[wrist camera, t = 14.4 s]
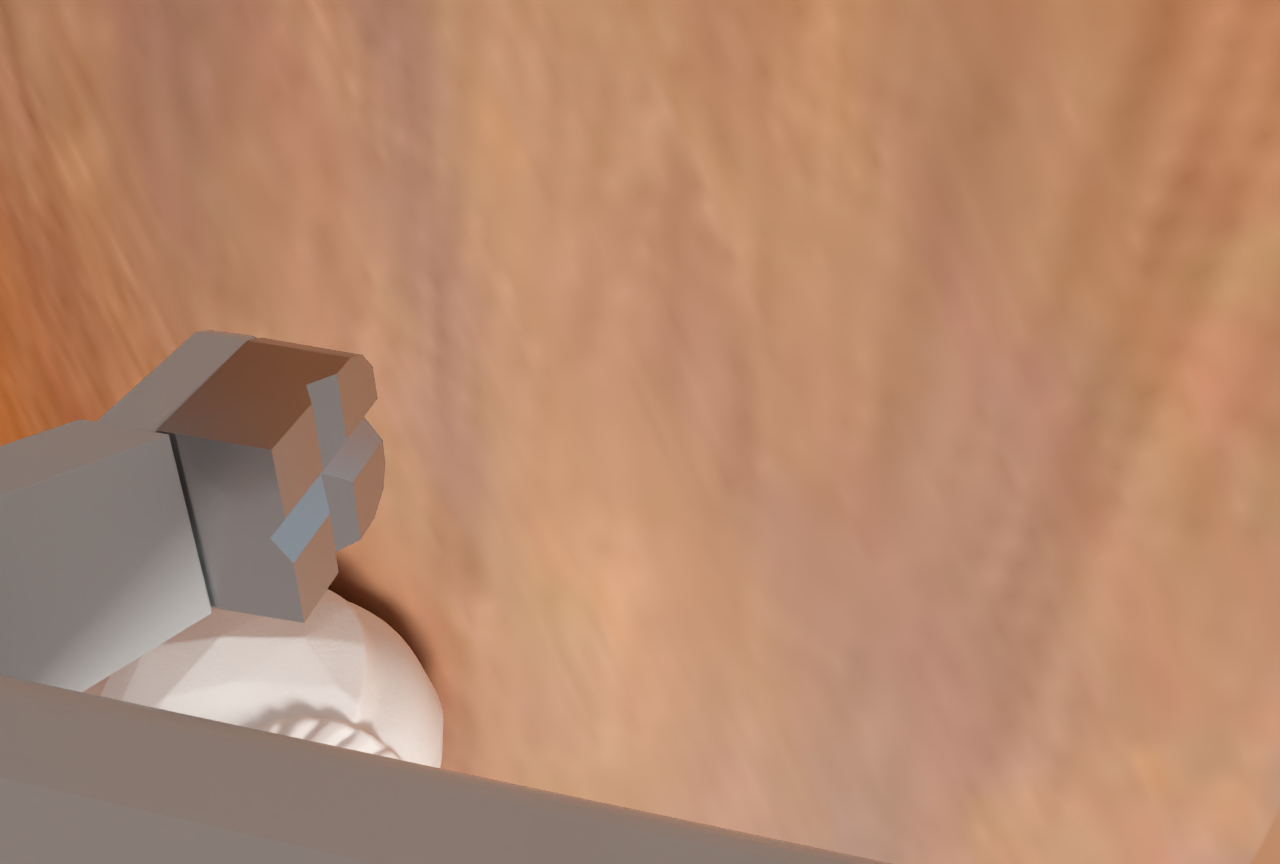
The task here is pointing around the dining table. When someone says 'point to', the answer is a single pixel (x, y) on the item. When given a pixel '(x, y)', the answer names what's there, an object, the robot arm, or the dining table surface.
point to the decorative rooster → (295, 680)
